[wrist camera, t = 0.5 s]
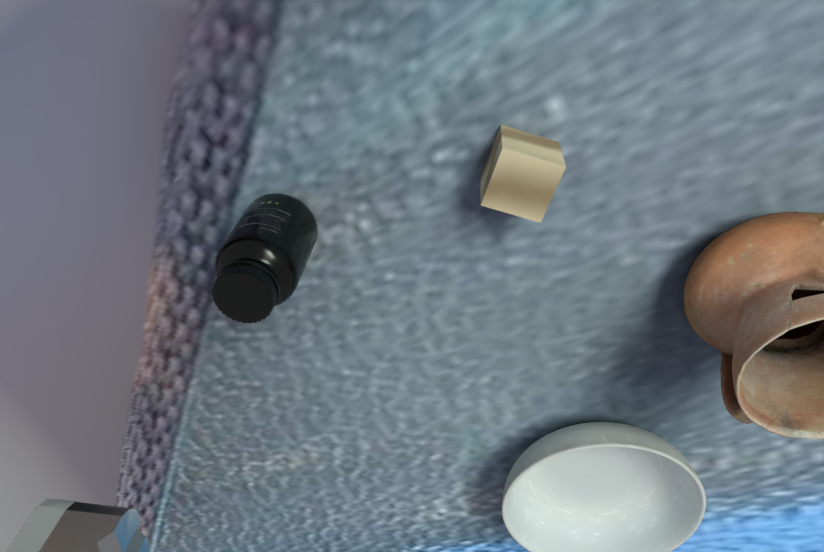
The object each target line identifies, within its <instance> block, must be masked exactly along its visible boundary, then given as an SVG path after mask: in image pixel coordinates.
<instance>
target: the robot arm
mask: <svg viewBox="0 0 824 552" xmlns="http://www.w3.org/2000/svg"><path fill="white" fill-rule="evenodd" d="M140 521H141V520H140V517H139V515H138V512H137V510H136V509H135V508H126V507H117V506H108V505H99V504H89V503H81V502H77V501H67V500H57V499H46V500H45V501H44V502H42V503H41V504H40V505H39V506H38V507H36V509H35V510H34V512H33V513H32V514H31V516H30V517H29V519H28V520H27V522H26V523H25V525H24V526H23V527H22V529H21V530H20V532H19V533H18V535H17V536H16V537H15V539H14V540H13V542H12V543H11V545H10V546H9V547H8V549H7V550H6V552H148V542H147V538H146V536H145V535H144V534H143V533H141V532H140V531H139V530H138V529H137V527H138V525H139V523H140Z"/></svg>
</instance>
